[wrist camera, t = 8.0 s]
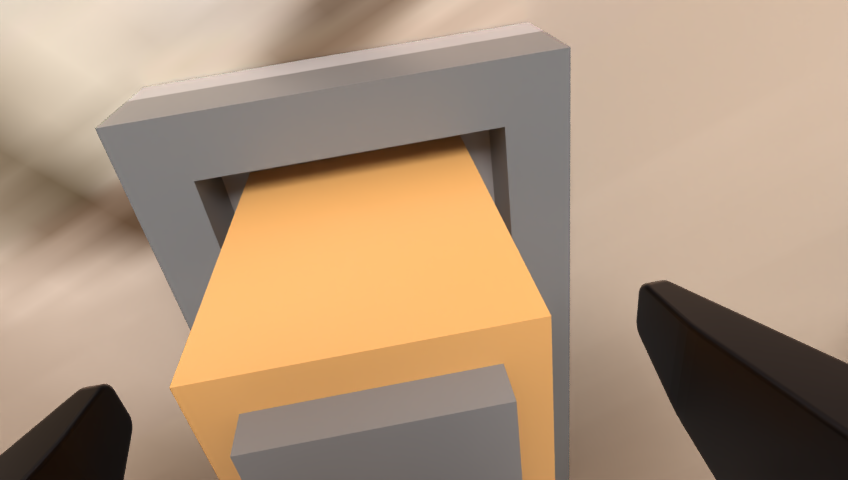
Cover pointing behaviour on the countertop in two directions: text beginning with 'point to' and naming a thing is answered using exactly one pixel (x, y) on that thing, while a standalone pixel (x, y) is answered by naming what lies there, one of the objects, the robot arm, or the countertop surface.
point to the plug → (371, 329)
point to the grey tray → (361, 149)
